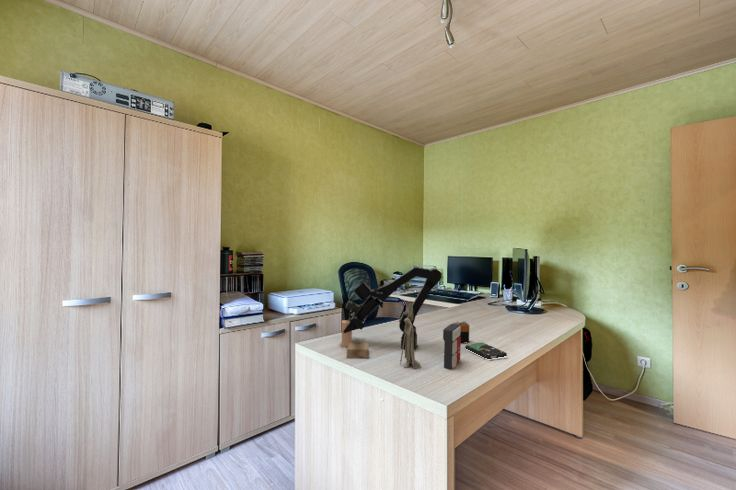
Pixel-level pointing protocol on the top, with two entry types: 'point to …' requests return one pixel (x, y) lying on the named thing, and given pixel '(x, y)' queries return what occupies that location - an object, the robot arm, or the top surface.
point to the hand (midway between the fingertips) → (343, 330)
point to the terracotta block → (346, 334)
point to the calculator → (451, 345)
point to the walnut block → (358, 350)
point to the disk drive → (485, 350)
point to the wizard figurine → (409, 340)
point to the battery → (464, 331)
